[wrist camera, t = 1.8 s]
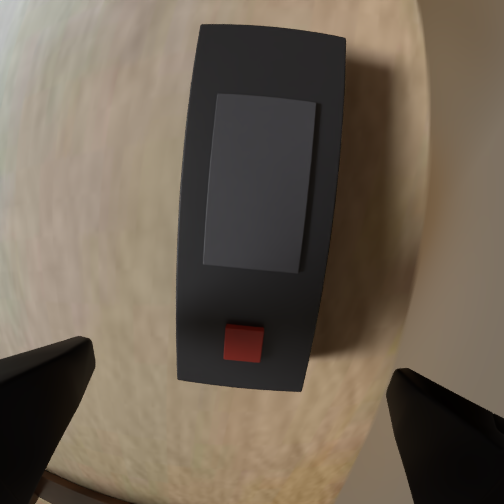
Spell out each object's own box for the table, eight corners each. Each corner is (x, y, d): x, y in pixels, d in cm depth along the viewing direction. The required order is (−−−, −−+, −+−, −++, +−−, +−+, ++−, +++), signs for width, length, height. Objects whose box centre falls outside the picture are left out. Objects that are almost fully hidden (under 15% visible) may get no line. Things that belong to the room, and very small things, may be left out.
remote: (211, 49, 10) (198, 19, 7) (331, 60, 10) (348, 33, 7) (189, 349, 12) (175, 385, 10) (296, 360, 12) (302, 397, 10)
